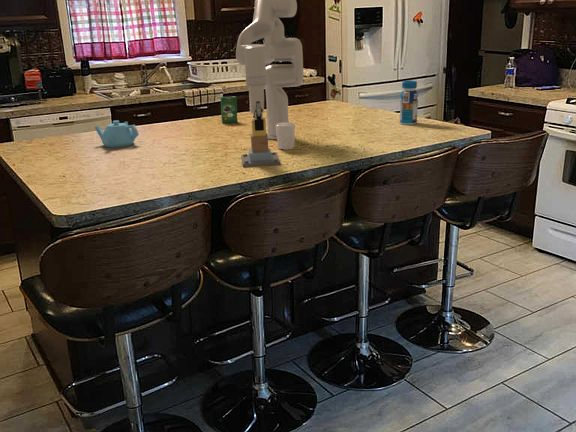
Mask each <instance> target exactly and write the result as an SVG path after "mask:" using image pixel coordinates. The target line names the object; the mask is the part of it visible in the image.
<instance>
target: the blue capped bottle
mask: <svg viewBox="0 0 576 432" xmlns="http://www.w3.org/2000/svg"><path fill="white" fill-rule="evenodd" d="M401 84H402V85H401V88H402V89H403V90H402V91H401V93H400V100H399V107H400V108H399V124H401V125H403V126H414V125H416V124H418V105H419V100H418V97H419V94H418V91H417V90H416V89H418V88H417V86H418V82H417V80H410V79H409V80H402V83H401Z"/></svg>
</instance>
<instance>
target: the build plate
mask: <svg viewBox="0 0 576 432" xmlns="http://www.w3.org/2000/svg"><path fill="white" fill-rule="evenodd" d="M240 158H241V165H242V167H243V168H245V167H246V168H249V167H263V166H281V160H280V158H279V155H278V153H277V152H275V151H271V148H270V147H268V152H256V153H252V148H248V153H243V154H241V155H240Z"/></svg>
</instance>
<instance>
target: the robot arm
mask: <svg viewBox="0 0 576 432" xmlns="http://www.w3.org/2000/svg"><path fill="white" fill-rule="evenodd" d="M297 3H298V2H297V0H254V11H253V16H252V17H253V19H252V23H250V24H249V25H248V26H246V27H245V29H243V30H242V31H241V33H240V34H239V36H238V39H237V43H236V49H235V58H236V59H235V60H236V62H237V63H238V64H239V65H241V66H244V67H245V68H244V70H245V71H244V72H245V86H246V87H248V98H249V99H248V101H249V112H250V114H251V115H252V114H253V116H252V118H255V131H262V130H264V123H263V117H264V116H263V113H265V104H266V121H267V123H266V124H267V125H266V128H267V132H266V133H267V135H268V140H277V135H276V124H277V123H283V122H289V98H288V95H287V93H286V92H285V90H284V89H283V88H290V87H291V88H293V87H295V88H296V87H300V86H302V84H303V83H304V55H303V54H304V53H303V45H302V42H301V40H300V38H299V39H298V38H297V37H286V36H285V26H284V24H283V22H282V21H281V19H280V18H293V17H295V16H296V14H297V10H298V4H297ZM261 39H264V43H253V42H256V41H259V40H261ZM273 62H291V63H290V64H273ZM271 63H272V64H271ZM265 101H266V103H265Z"/></svg>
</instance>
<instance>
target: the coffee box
mask: <svg viewBox="0 0 576 432" xmlns="http://www.w3.org/2000/svg"><path fill="white" fill-rule="evenodd" d="M237 101H238V100H237V96H236V95H235V96H220V113H221V115H220V116H221V123H222V124H228V123H229V124H230V123H238V106H237V105H238V102H237Z"/></svg>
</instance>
